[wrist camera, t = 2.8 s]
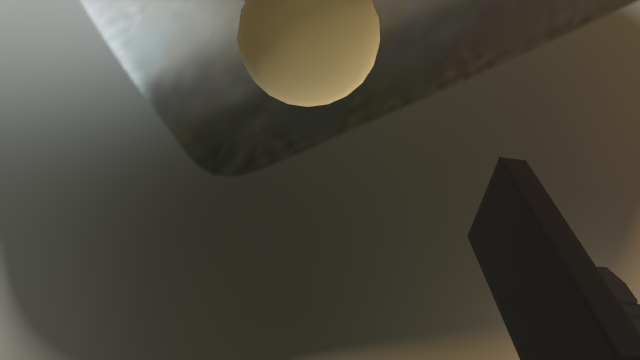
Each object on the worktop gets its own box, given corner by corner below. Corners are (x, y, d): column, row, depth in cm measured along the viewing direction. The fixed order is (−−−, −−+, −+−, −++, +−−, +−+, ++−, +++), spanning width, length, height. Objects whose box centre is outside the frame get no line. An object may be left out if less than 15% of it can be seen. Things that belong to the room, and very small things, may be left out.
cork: (285, -128, 28) (296, -76, 19) (383, -44, 30) (435, 39, 21) (211, -22, 30) (188, 71, 21) (307, 49, 32) (324, 159, 23)
